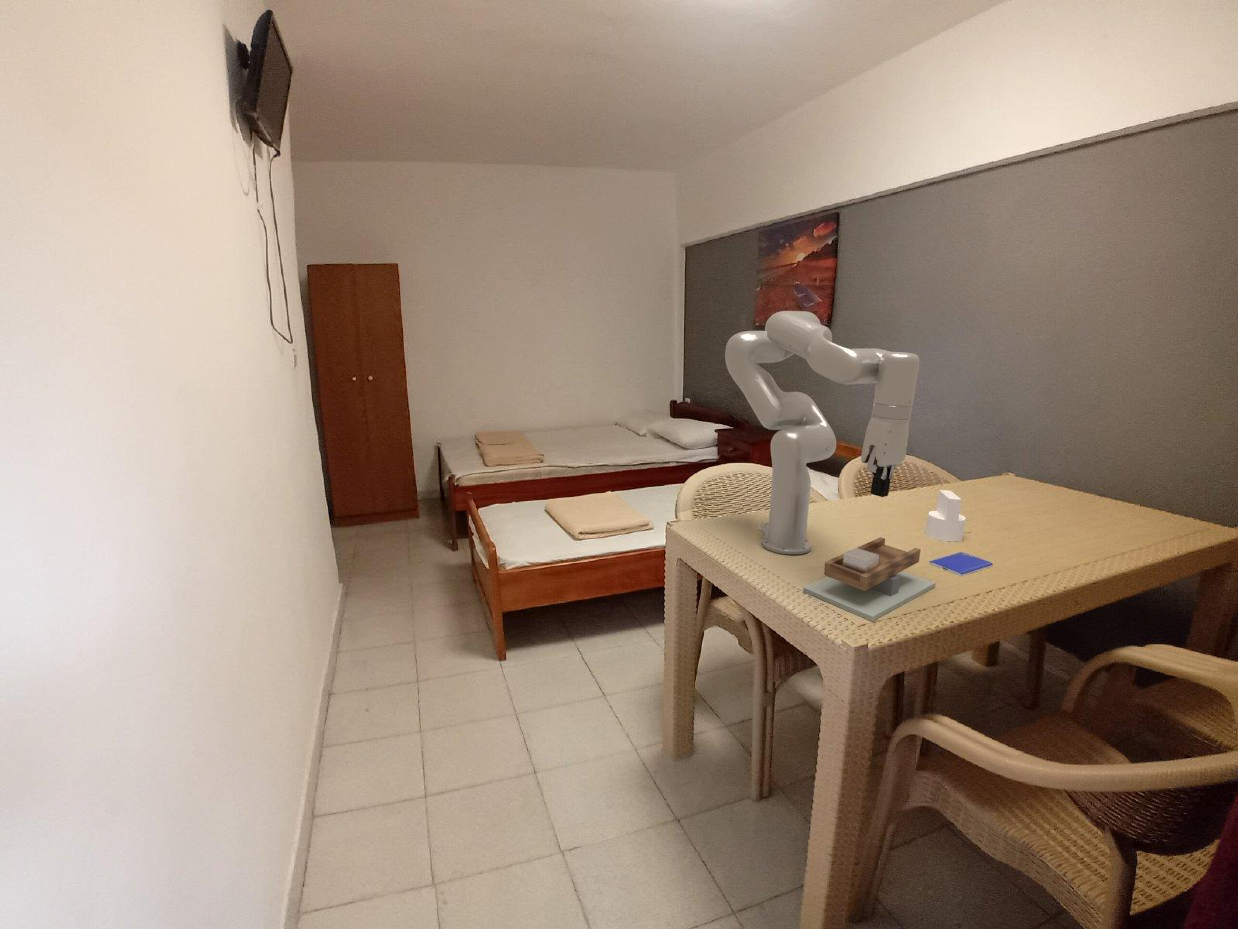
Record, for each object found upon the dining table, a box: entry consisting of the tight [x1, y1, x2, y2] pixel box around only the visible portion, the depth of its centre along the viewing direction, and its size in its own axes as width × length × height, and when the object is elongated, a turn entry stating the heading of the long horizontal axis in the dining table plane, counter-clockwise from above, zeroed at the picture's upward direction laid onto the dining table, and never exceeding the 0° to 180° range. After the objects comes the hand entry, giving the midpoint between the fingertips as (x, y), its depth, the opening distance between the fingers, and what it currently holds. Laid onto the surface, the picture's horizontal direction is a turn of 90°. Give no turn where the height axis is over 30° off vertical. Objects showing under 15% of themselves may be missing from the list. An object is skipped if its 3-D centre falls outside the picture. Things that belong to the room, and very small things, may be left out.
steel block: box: [843, 547, 879, 574], centre depth 123 cm, size 5×5×4 cm
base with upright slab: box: [925, 489, 966, 543], centre depth 162 cm, size 9×9×12 cm
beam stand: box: [802, 571, 936, 622], centre depth 129 cm, size 26×16×5 cm, turn 127°
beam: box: [823, 536, 921, 591], centre depth 128 cm, size 22×9×3 cm, turn 127°
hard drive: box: [928, 551, 993, 577], centre depth 143 cm, size 2×8×12 cm
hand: (879, 494), depth 129 cm, fingers closed
